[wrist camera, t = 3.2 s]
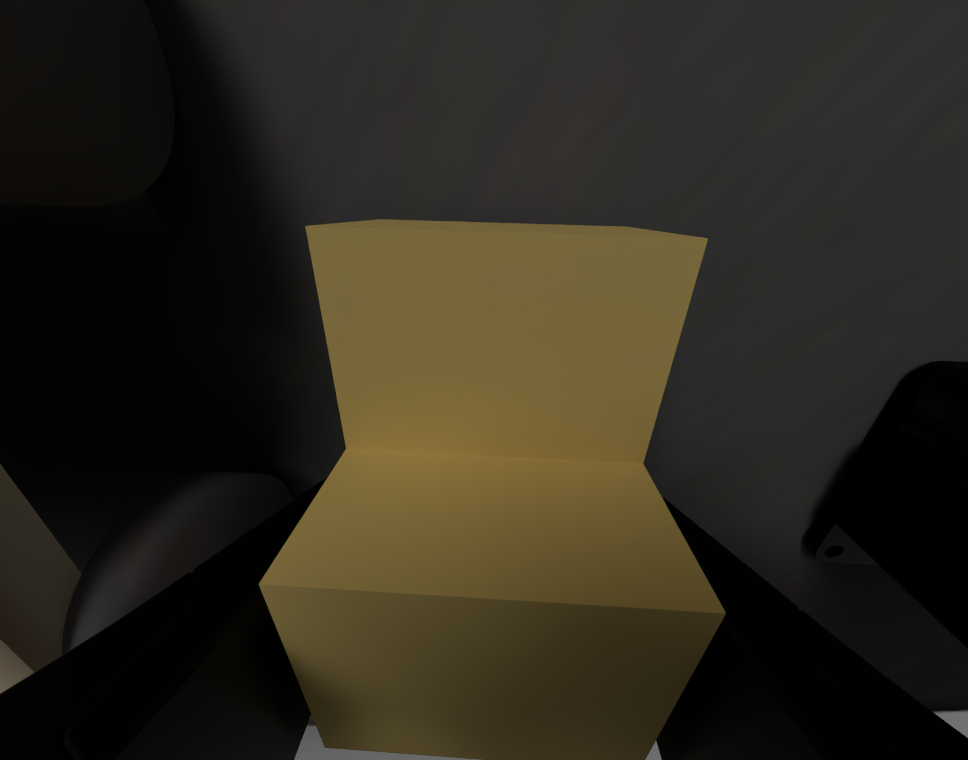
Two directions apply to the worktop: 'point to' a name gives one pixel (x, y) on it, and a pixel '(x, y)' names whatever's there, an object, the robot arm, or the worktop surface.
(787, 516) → the worktop surface
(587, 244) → the block
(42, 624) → the trolley
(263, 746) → the robot arm
